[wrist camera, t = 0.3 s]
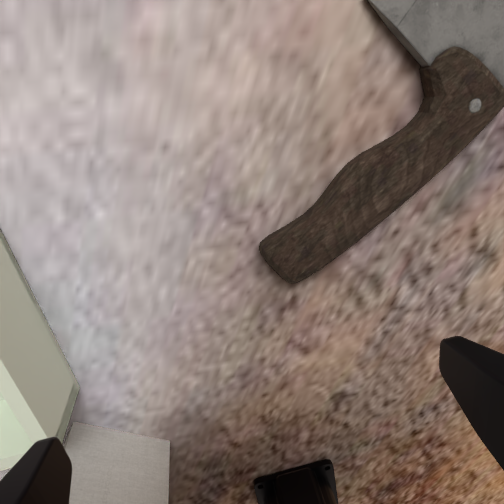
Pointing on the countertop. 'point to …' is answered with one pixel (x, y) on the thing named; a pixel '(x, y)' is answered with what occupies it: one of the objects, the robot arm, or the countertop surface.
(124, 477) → the tea bag
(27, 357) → the box
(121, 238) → the countertop surface
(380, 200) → the cleaver
